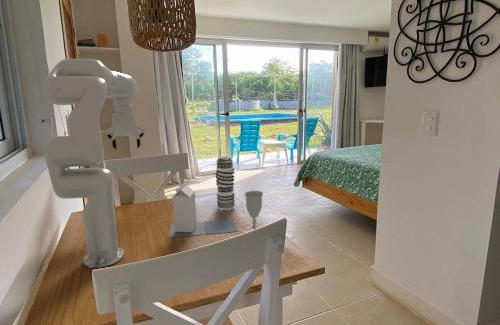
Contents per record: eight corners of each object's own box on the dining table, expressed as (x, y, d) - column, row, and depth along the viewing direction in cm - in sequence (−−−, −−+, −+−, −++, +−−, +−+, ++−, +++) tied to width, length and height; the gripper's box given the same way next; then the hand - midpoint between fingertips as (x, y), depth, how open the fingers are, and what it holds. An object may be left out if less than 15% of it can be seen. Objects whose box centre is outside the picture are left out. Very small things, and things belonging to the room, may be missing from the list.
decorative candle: (238, 209, 150) (236, 158, 145) (219, 212, 147) (217, 160, 141) (232, 203, 158) (230, 155, 153) (214, 205, 155) (212, 156, 150)
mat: (237, 231, 125) (237, 231, 125) (205, 234, 123) (204, 234, 123) (233, 219, 138) (233, 218, 138) (203, 221, 135) (203, 221, 135)
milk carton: (196, 225, 131) (194, 182, 127) (191, 233, 124) (189, 187, 120) (180, 225, 132) (177, 182, 128) (174, 232, 125) (171, 187, 121)
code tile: (202, 234, 123) (202, 234, 123) (168, 237, 121) (168, 237, 120) (201, 222, 135) (201, 221, 135) (170, 224, 133) (170, 224, 133)
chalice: (257, 244, 114) (256, 197, 110) (241, 240, 118) (240, 195, 114) (266, 236, 120) (266, 192, 116) (251, 233, 124) (251, 189, 120)
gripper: (100, 110, 131) (105, 150, 135) (143, 109, 136) (147, 148, 140) (103, 110, 138) (107, 148, 142) (144, 109, 143) (147, 146, 147)
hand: (127, 148), depth 141 cm, fingers open, 9 cm apart
